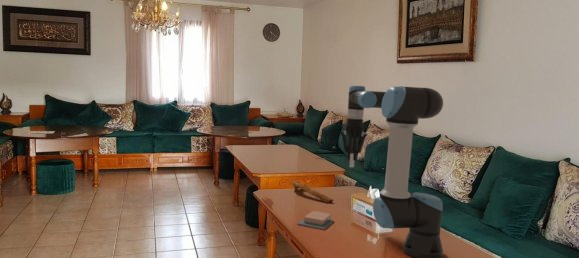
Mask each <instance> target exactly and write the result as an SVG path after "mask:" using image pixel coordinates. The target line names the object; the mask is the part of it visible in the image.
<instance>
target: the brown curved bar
mask: <svg viewBox="0 0 579 258" xmlns="http://www.w3.org/2000/svg"><path fill="white" fill-rule="evenodd" d="M291 184H292V185H293V188H294V190H297V189H301V190H302V191H304V192H307V193H308V194H310V195H311V196H314V197H316V198H317V199H319V200H320V201H322V202H324V203H326V204H331V203H333V202H334V199H333V198H331V197H329V196H326V195H325V194H322V193H320V192H319V191H316V190H314V189H312V188H310V187H309V186H307V184H305V183H299V182H298V181H296V180H292V182H291Z"/></svg>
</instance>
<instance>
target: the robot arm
mask: <svg viewBox="0 0 579 258" xmlns="http://www.w3.org/2000/svg"><path fill="white" fill-rule="evenodd" d="M348 88H349V89H348V100H347V114H346V115H347V118H346V127H345V129H344V130H342V131H340V134H341V136H342V142H343V148H344V152H346V153H347V155H348V156H347V160H348V161H349V165H348V166H349V168H354V167H355V161H357V157H358V154H360V153H361V152H362V149H363V146H364V144H365V141H366V138H367V137H368V133H366V132H364V128H363V126H364V119H363V118H364V110H365V109H371V108H373V109H381V113H382V114H381V115H382V116H383V117H384V118H385V121H386V124H387V125H388V126H389V132H388V144H387V156H386V165H385V177H384V187H383V189H381V190H380V191H379V197H378V196H377V197H375V198H373V199H374V200H373V203H372V212H373V216H374V220H375V222H376V224H377V225H378V226H379V227H381V228H382V229H390V230H394V229H409V230H408V233H407V235H406V237H405V240H404V242H403V244H402V245H403V246H402V251H403V252H404V254H406V255H408V256H410V257H412V258H442V257H444V256H443V253H444V249H443V244H442V239H441V229H442V228H441V227H442V226H441V225H442V218H443V217H442V216H443V208H444V207H443V200H442V199H441V198H440V197H438V196H435V195H432V194H429V193H425V192H416V191H415V192H412V194H411V193H410V192H409V190H408V188H409V179H410V166H411V156H412V145H413V134H414V128H415V127H417V126H418V125H419V119H420V120H421V119H422V120H423V119H430V118H431V119H432V118H434V117H435V116H438V115H439V114H440V113H441V112H442V109H443V107H444V98H443V97H442V95H441V94H440V92H438V91H437V90H435V89H433V88H431V87H416V86H402V85H401V86H391V87H389V88H388V89H386V91H373V90H366V87H365V85H364V86H363V85H350V86H349V87H348ZM347 136H348V137H347ZM360 136H361V139H359V138H360ZM347 138H348V139H347ZM359 140H360V141H359Z"/></svg>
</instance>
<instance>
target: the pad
mask: <svg viewBox="0 0 579 258" xmlns="http://www.w3.org/2000/svg"><path fill="white" fill-rule="evenodd" d="M334 222H335V220H334V219H333V220H332V219H331V220H329V221H328V222H327V223H326V224H324V225H323V226H320V225H315V224H310V223H305V222H304V218H303V219H301V220H300V221H298V222H297V226H303V227H307V228H312V229H319V230H323V231H326V229H327V228H329V227H330V226H331V225H332V224H334Z"/></svg>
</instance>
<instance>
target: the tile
mask: <svg viewBox="0 0 579 258" xmlns="http://www.w3.org/2000/svg"><path fill="white" fill-rule="evenodd" d="M303 219H304V222H305V223H310V224H315V225H320V226H323V225H324V224H326V223H327V222H328V221H329V220H332V214H330V213H327V212H321V211H316V210H313V211H311V212H309V213H307V214H306V215H305V216H303Z"/></svg>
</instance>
